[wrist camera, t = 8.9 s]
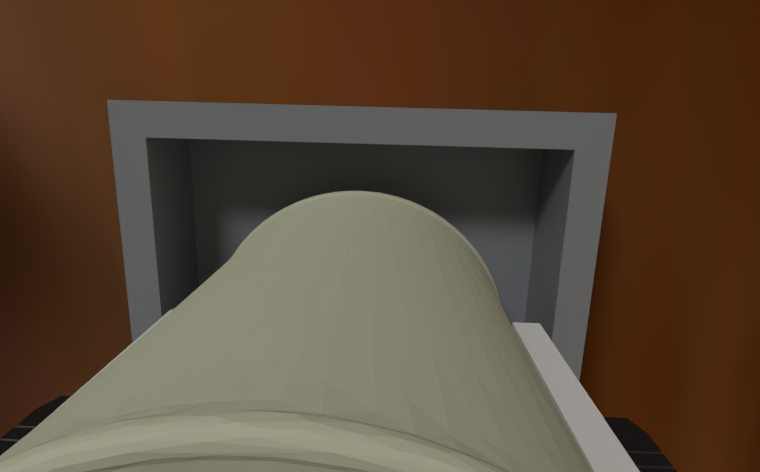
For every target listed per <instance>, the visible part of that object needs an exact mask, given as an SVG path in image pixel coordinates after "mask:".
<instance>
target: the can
mask: <svg viewBox="0 0 760 472" xmlns="http://www.w3.org/2000/svg"><path fill="white" fill-rule="evenodd" d="M0 472H591V470H590V468H589V466H588V464H587V463H586V461H585V459H584V457H583V456H582V454H581V452H580V450H579V448H578V447H577V445H576V443H575V441H574V440H573V438H572V436H571V434H570V433H569V431H568V429H567V427H566V425H565V423H564V422H563V420H562V418H561V416H560V414H559V412H558V411H557V409H556V407H555V405H554V403H553V401H552V400H551V398H550V396H549V394H548V392H547V390H546V389H545V387H544V385H543V383H542V381H541V379H540V378H539V376H538V374H537V372H536V370H535V368H534V367H533V365H532V363H531V361H530V359H529V357H528V356H527V354H526V352H525V350H524V348H523V346H522V345H521V343H520V341H519V339H518V337H517V335H516V334H515V332H514V330H513V328H512V326H511V324H510V322H509V320H508V318H507V316H506V314H505V312H504V310H503V308H502V306H501V303H500V299H499V295H498V292H497V289H496V286H495V283H494V280H493V278H492V276H491V274H490V272H489V270H488V268H487V266H486V264H485V262H484V261H483V259H482V257H481V256H480V255H479V253H478V252H477V250H476V249H475V248H474V247H473V245H472V244H471V243H470V242H469V241H468V239H467V238H466V237H465V236H464V235H463V234H461V233H460V232H459V231H458V230H457V229H456V228H455V227H454V226H453V225H451V224H450V223H449V222H447V221H446V220H445V219H444V218H442V217H441V216H439V215H437V214H436V213H434V212H433V211H431V210H429V209H427V208H425V207H423V206H421V205H419V204H416V203H414V202H412V201H409V200H407V199H404V198H400V197H397V196H393V195H389V194H384V193H379V192H369V191H339V192H331V193H325V194H321V195H316V196H313V197H310V198H306V199H303V200H301V201H298V202H296V203H294V204H292V205H290V206H287V207H285V208H283V209H282V210H280V211H278V212H277V213H275V214H273V215H272V216H270V217H269V218H268V219H266V220H265V221H263V222H262V223H261V224H260V225H259V226H258V227H257V228H255V229H254V230H253V231H252V232H251V233H250V234H249V235H248V237H247V238H246V239H245V240H244V241H243V242H242V243H241V245H240V246H239V247H238V249H237V250H236V251H235V253H234V254H233V256H232V257H231V258H230V259H229V260H228V261H227V262H226V263H225V264H224V265H223V266H222V267H221V268H220V269H219V270H217V271H216V272H215V273H214V274H213V275H212V276H211V277H209V278H208V279H207V280H206V281H205V282H204V283H203V284H202V285H200V286H199V287H198V288H197V289H196V290H195V291H194V292H193V293H191V294H190V295H189V296H188V297H187V298H186V299H185V300H184V301H182V302H181V303H180V304H179V305H178V306H177V307H176V308H175V309H173V310H172V311H171V312H170V313H169V314H168V315H167V316H165V317H164V318H163V319H162V320H161V321H160V322H159V323H158V324H156V325H155V326H154V327H153V328H152V329H151V330H149V331H148V332H147V333H146V334H145V335H143V336H142V337H141V338H140V339H139V340H138V341H136V342H135V343H134V344H133V345H132V346H131V347H129V348H128V349H127V350H126V351H125V352H124V353H122V354H121V355H120V356H119V357H118V358H117V359H115V360H114V361H113V362H112V363H111V364H110V365H108V366H107V367H106V368H105V369H104V370H102V371H101V372H100V373H99V374H98V375H97V376H95V377H94V378H93V379H92V380H91V381H90V382H88V383H87V384H86V385H85V386H84V387H83V388H81V389H80V390H79V391H78V392H77V393H76V394H74V395H73V396H72V397H71V398H70V399H68V400H67V401H66V402H65V403H64V404H63V405H61V406H60V407H59V408H58V409H57V410H56V411H54V412H53V413H52V414H51V415H50V416H49V417H47V418H46V419H45V420H44V421H43V422H42V423H40V424H39V425H38V426H37V427H36V428H34V429H33V430H32V431H31V432H29V433H28V434H27V435H26V436H24V437H23V438H22V439H21V440H19V441H18V442H17V443H16V444H14V445H13V446H12V447H11V448H9V449H8V450H7V451H6V452H4V453H3V454H2V455H1V456H0Z"/></svg>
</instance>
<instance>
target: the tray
mask: <svg viewBox="0 0 760 472" xmlns="http://www.w3.org/2000/svg"><path fill="white" fill-rule="evenodd" d="M107 106H108V115H109V125H110V134H111V144H112V153H113V163H114V172H115V182H116V191H117V201H118V210H119V220H120V229H121V239H122V248H123V258H124V268H125V277H126V287H127V296H128V306H129V315H130V325H131V334H132V343H133V342H134V341H135V340H136V339H137V338H138V337H140V336H141V335H142V334H143V333H144V332H145V331H146V330H148V329H149V328H150V327H151V326H152V325H153V324H154V323H156V322H157V321H158V320H159V319H160V318H161V317H162V316H164V315H165V314H166V313H167V312H168V311H169V310H171V309H175V308H176V307H177V306H178V305H179V304H180V303H181V302H182V301H184V300H185V299H186V298H187V297H188V296H189V295H190V294H191V293H193V292H194V291H195V290H196V289H197V288H198V287H199V286H200V285H202V284H203V283H204V282H205V281H206V280H207V279H208V278H209V277H211V276H212V275H213V274H214V273H215V272H216V271H217V270H219V269H220V268H221V267H222V266H223V265H224V264H225V263H226V262H227V261H228V260H229V259H230V258H231V257H232V256H233V254H234V253H235V251H236V250H237V249H238V247H239V246H240V245H241V243H242V242H243V241H244V240H245V239H246V238H247V237H248V235H249V234H250V233H251V232H252V231H253V230H254V229H255V228H257V227H258V226H259V225H260V224H261V223H262V222H263V221H265V220H266V219H268V218H269V217H270V216H272V215H273V214H275V213H277V212H278V211H280V210H282V209H283V208H285V207H287V206H290V205H292V204H294V203H296V202H298V201H301V200H303V199H306V198H310V197H313V196H316V195H321V194H325V193H331V192H339V191H369V192H379V193H384V194H389V195H393V196H397V197H400V198H404V199H407V200H409V201H412V202H414V203H416V204H419V205H421V206H423V207H425V208H427V209H429V210H431V211H433V212H434V213H436V214H437V215H439V216H441V217H442V218H444V219H445V220H446V221H447V222H449V223H450V224H451V225H453V226H454V227H455V228H456V229H457V230H458V231H459V232H460V233H461V234H463V235H464V236H465V237H466V238H467V239H468V241H469V242H470V243H471V244H472V245H473V247H474V248H475V249H476V250H477V252H478V253H479V255H480V256H481V257H482V259H483V261H484V262H485V264H486V266H487V268H488V270H489V272H490V274H491V276H492V278H493V280H494V283H495V286H496V289H497V292H498V295H499V299H500V303H501V306H502V308H503V310H504V312H505V314H506V316H507V318H508V320H509V322H510V324H511V326H512V322H518V323H540V324H541V326H542V327H543V329H544V330H545V332H546V333H547V335H548V336H549V338H550V339H551V341H552V342H553V344H554V345H555V347H556V348H557V350H558V351H559V353H560V354H561V355H562V357H563V358H564V360H565V361H566V363H567V364H568V366H569V367H570V369H571V370H572V372H573V373H574V375H575V376H576V378H577V379H578V381H580V374H581V367H582V359H583V352H584V345H585V338H586V331H587V323H588V316H589V309H590V302H591V295H592V288H593V280H594V273H595V266H596V259H597V252H598V244H599V237H600V230H601V223H602V216H603V209H604V201H605V194H606V187H607V180H608V173H609V165H610V158H611V151H612V144H613V137H614V130H615V122H616V115H617V113H580V112H543V111H506V110H469V109H431V108H394V107H357V106H320V105H282V104H245V103H208V102H171V101H133V100H107Z"/></svg>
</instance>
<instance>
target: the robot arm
mask: <svg viewBox="0 0 760 472" xmlns="http://www.w3.org/2000/svg"><path fill="white" fill-rule="evenodd" d="M172 310H173V309H171V310H169V311H168V312H167V313H166V314H165V315H164V316H162V317H161V318H160V319H159V320H158V321H157V322H156V323H154V324H153V325H152V326H151V327H150V328H149V329H148V330H146V331H145V332H144V333H143V334H142V335H141V336H140V337H138V338H137V339H136V340H135V341H134V342H133V343H132V344H130V345H129V346H128V347H127V348H126V349H125V350H124V351H122V352H121V353H120V354H119V355H118V356H117V357H116V358H114V359H113V360H112V361H111V362H110V363H109V364H108V365H110V364H111V363H112V362H113V361H114V360H115V359H117V358H118V357H119V356H120V355H121V354H122V353H124V352H125V351H126V350H127V349H128V348H129V347H131V346H132V345H133V344H134V343H135V342H136V341H138V340H139V339H140V338H141V337H142V336H143V335H145V334H146V333H147V332H148V331H149V330H151V329H152V328H153V327H154V326H155V325H156V324H158V323H159V322H160V321H161V320H162V319H163V318H164V317H165V316H167V315H168V314H169V313H170V312H171V311H172ZM512 328H513V330H514V332H515V334H516V335H517V337H518V339H519V341H520V343H521V345H522V346H523V348H524V350H525V352H526V354H527V356H528V357H529V359H530V361H531V363H532V365H533V367H534V368H535V370H536V372H537V374H538V376H539V378H540V379H541V381H542V383H543V385H544V387H545V389H546V390H547V392H548V394H549V396H550V398H551V400H552V401H553V403H554V405H555V407H556V409H557V411H558V412H559V414H560V416H561V418H562V420H563V422H564V423H565V425H566V427H567V429H568V431H569V433H570V434H571V436H572V438H573V440H574V441H575V443H576V445H577V447H578V448H579V450H580V452H581V454H582V456H583V457H584V459H585V461H586V463H587V464H588V466H589V468H590V470H591V472H677V471H676V469H673V467H672V464H671V463H670V462H669V460H668V459H667V458H666V457H665V455H664V454H661V450H660V449H659V448H658V446H657V445H656V444H655V442H654V441H653V440H652V439H651V437H650V436H649V435H648V434H647V433H646V432H645V431H643V430H642V429H641V428H639V427H638V426H636V425H635V424H634V423H632V422H631V421H629V420H628V419H627V418H608V417H603V416H602V415H601V413H600V412H599V410H598V409H597V407H596V406H595V404H594V403H593V401H592V400H591V398H590V397H589V396H588V394H587V393H586V391H585V390H584V388H583V387H582V385H581V384H580V382H579V381H578V379H577V378H576V376H575V375H574V373H573V372H572V370H571V369H570V367H569V366H568V364H567V363H566V361H565V360H564V358H563V357H562V355H561V354H560V353H559V351H558V350H557V348H556V347H555V345H554V344H553V342H552V341H551V339H550V338H549V336H548V335H547V333H546V332H545V330H544V329H543V327H542V326H541V324H540V323H518V322H512ZM108 365H106V366H105V367H104V368H103V369H102V370H104V369H105V368H106V367H107V366H108ZM102 370H101V371H102ZM101 371H100V372H101ZM100 372H98V373H97V374H96V375H95V376H97V375H98V374H99V373H100ZM95 376H94V377H95ZM94 377H93V378H94ZM93 378H92V379H93ZM92 379H90V380H89V381H88V382H90V381H91V380H92ZM88 382H87V383H88ZM87 383H86V384H87ZM86 384H85V385H86ZM85 385H84V386H85ZM84 386H82V387H81V388H83V387H84ZM81 388H80V389H81ZM80 389H79V390H80ZM79 390H78V391H79ZM78 391H77V392H78ZM77 392H76V393H77ZM76 393H74V394H76ZM74 394H73V395H74ZM73 395H72V396H73ZM72 396H60V397H59V398H57V399H55V400H53V401H51V402H49V403H47V404H45V405H43V406H41V407H39V408H37V409H36V410H34V411H33V412H32V413H31V414H30V415H28V416H27V417H26V418H25V419H24V420H22V421H21V422H20V423H19V424H18V426H17V428H13V429H11V430H10V431H9V432H8V433H7V434H5V435H4V436H3V437H2V439H1V441H0V456H1V455H2V454H3V453H4V452H6V451H7V450H8V449H9V448H11V447H12V446H13V445H14V444H16V443H17V442H18V441H19V440H21V439H22V438H23V437H24V436H26V435H27V434H28V433H29V432H31V431H32V430H33V429H34V428H36V427H37V426H38V425H39V424H40V423H42V422H43V421H44V420H45V419H46V418H47V417H49V416H50V415H51V414H52V413H53V412H54V411H56V410H57V409H58V408H59V407H60V406H61V405H63V404H64V403H65V402H66V401H67V400H68V399H70V398H71V397H72Z"/></svg>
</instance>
